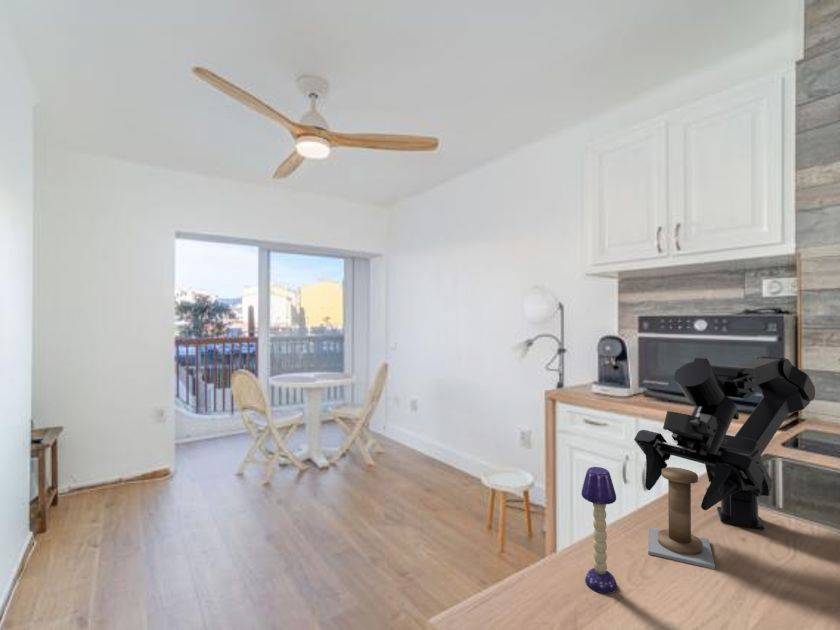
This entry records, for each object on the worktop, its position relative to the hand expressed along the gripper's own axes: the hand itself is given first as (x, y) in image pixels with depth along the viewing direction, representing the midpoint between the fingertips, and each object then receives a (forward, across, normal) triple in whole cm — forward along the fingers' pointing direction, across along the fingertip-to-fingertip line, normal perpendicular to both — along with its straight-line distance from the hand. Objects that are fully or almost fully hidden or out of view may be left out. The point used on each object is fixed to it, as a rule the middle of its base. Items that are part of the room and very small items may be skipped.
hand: (673, 498), depth 71 cm
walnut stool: (+5, 0, +7) cm, 8 cm away
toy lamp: (+19, 0, -7) cm, 21 cm away
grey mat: (+5, 0, +7) cm, 9 cm away
